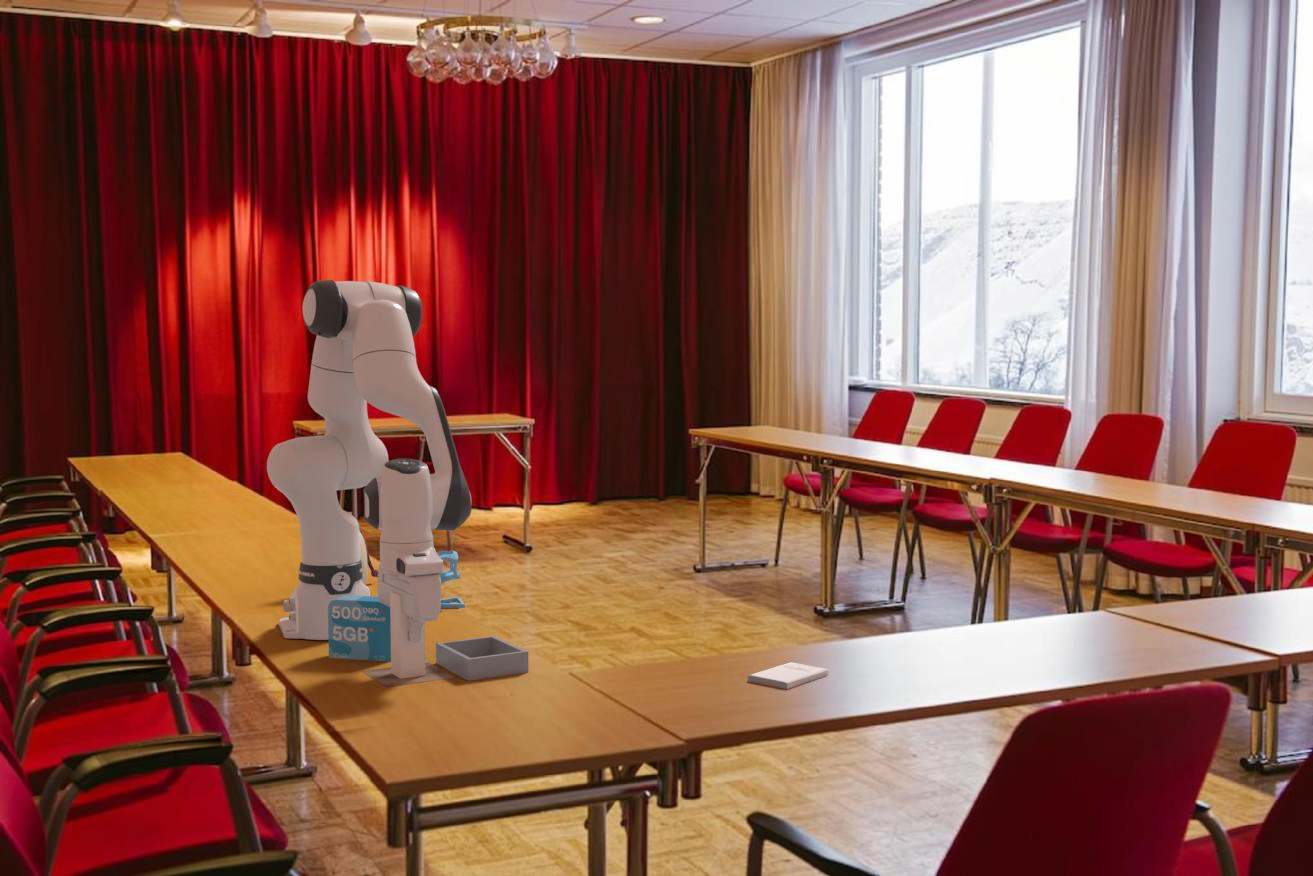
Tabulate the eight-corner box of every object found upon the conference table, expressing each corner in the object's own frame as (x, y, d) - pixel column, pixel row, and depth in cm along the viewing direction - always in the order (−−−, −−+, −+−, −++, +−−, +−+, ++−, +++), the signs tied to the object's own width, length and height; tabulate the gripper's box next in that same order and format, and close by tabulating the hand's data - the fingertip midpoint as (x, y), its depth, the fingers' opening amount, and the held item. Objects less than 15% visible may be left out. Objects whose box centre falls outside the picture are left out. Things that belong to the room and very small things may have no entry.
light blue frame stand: (421, 604, 295) (420, 549, 294) (459, 601, 298) (458, 547, 297) (426, 610, 288) (425, 555, 287) (465, 608, 290) (464, 552, 289)
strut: (391, 673, 229) (390, 591, 227) (416, 669, 231) (414, 588, 230) (400, 678, 225) (399, 595, 224) (425, 675, 227) (424, 592, 226)
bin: (436, 671, 236) (436, 643, 235) (494, 663, 241) (493, 635, 241) (468, 689, 224) (468, 659, 223) (528, 680, 230) (528, 651, 229)
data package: (328, 666, 240) (327, 599, 239) (339, 660, 244) (338, 594, 243) (391, 670, 237) (390, 602, 236) (401, 664, 241) (400, 597, 240)
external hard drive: (747, 684, 229) (789, 670, 239) (787, 692, 224) (828, 677, 234) (747, 674, 229) (789, 660, 239) (787, 682, 224) (828, 668, 233)
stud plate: (362, 679, 230) (361, 656, 230) (428, 670, 236) (428, 648, 236) (386, 696, 220) (386, 671, 219) (455, 686, 226) (455, 662, 226)
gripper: (367, 550, 233) (368, 629, 235) (410, 567, 216) (411, 652, 217) (402, 547, 237) (403, 625, 238) (447, 564, 219) (448, 648, 220)
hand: (407, 638), depth 227 cm, fingers closed on strut, 4 cm apart
